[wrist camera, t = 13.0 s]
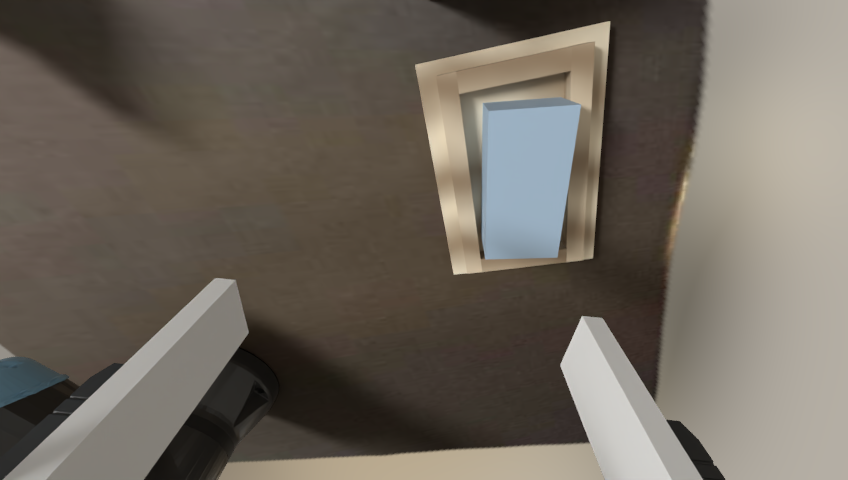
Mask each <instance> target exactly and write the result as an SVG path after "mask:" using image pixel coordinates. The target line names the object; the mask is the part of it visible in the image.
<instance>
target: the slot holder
mask: <svg viewBox="0 0 848 480" xmlns="http://www.w3.org/2000/svg"><path fill="white" fill-rule="evenodd" d="M609 33H610V21H608V22H603V23H599V24H594V25H590V26H585V27H581V28H577V29H572V30H568V31H563V32H559V33H554V34H550V35H546V36H541V37H537V38H532V39H528V40H523V41H519V42H515V43H510V44H506V45H501V46H497V47H492V48H488V49H484V50H479V51H475V52H470V53H466V54H461V55H457V56H453V57H448V58H444V59H439V60H435V61H431V62H426V63H422V64H417V65H415V67H416V72H417V78H418V83H419V89H420V94H421V99H422V105H423V110H424V116H425V121H426V127H427V132H428V137H429V143H430V148H431V154H432V159H433V164H434V170H435V175H436V181H437V186H438V192H439V197H440V202H441V208H442V213H443V219H444V224H445V230H446V235H447V240H448V246H449V251H450V257H451V262H452V267H453V273H454V275H455V274H464V273H467V274H469V273H478V272H486V271H495V270H504V269H512V268H521V267H529V266H538V265H547V264H555V263H564V262H572V261H581V260H583V259H592V258H593V251H594V237H595V224H596V210H597V196H598V183H599V169H600V156H601V142H602V128H603V115H604V101H605V88H606V74H607V60H608V47H609ZM555 97H562V98H565V99H567V100H570V101H573V102H576V103H579V104H581V109H580V116H579V122H578V129H577V135H576V141H575V148H574V154H573V161H572V167H571V174H570V180H569V186H568V193H567V199H566V206H565V212H564V219H563V225H562V231H561V238H560V244H559V251H558V257H557V258H525V259H485V255H484V249H483V243H482V238H481V193H482V117H483V103H487V102H501V101H514V100H528V99H541V98H555Z"/></svg>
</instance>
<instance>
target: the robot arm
mask: <svg viewBox="0 0 848 480" xmlns="http://www.w3.org/2000/svg"><path fill="white" fill-rule="evenodd" d="M248 333H249V331H248V327H247V323H246V320H245V316H244V312H243V308H242V304H241V300H240V296H239V292H238V288H237V284H236V280H230V279H221V278H215V279H214V280H213V281H212V282H211V283H209V284H208V285H207V286H206V287H205V288H204V289H203V290H202V291H201V292H200V293H199V294H198V295H197V296H196V297H195V298H194V299H193V300H192V301H191V302H189V303H188V304H187V305H186V306H185V307H184V308H183V309H182V310H181V311H180V312H179V313H178V314H177V315H176V316H175V317H174V318H173V319H172V320H170V321H169V322H168V323H167V324H166V325H165V326H164V327H163V328H162V329H161V330H160V331H159V332H158V333H157V334H156V335H155V336H154V337H153V338H151V339H150V340H149V341H148V342H147V343H146V344H145V345H144V346H143V347H142V348H141V349H140V350H139V351H138V352H137V353H136V354H135V355H134V356H133V357H131V358H130V359H129V360H128V361H127V362H126V363H125V364H118V363H113V364H112V365H110V366H109V367H107V368H105V369H104V370H102V371H100V372H99V373H97V374H95V375H94V376H92V377H90V378H89V379H88V380H87V381H86V382H85V383H84V384H82V385H81V386H78V385H76V384H75V383H73V382H72V381H70V380H69V379H67V378H69V376H68V375H66V374H64V375H60V374H59V373H57V372H55V371H53V370H51V369H49V368H47V367H46V366H44V365H42V364H40V363H38V362H37V361H35V360H33V359H30V358H26V357H11V358H6V359H2V360H0V480H218V479H219V477H220V475H221V473H222V471H223V470H224V468H225V466H226V464H227V462H228V460H229V458H230V457H231V455H232V453H233V451H234V449H235V448H236V446H237V445H238V444H239V442H240V441H241V440H242V439H243V438H244V437H245V436H246V435H247V434H248V433H249V432H250V431H251V430H252V429H253V428H254V427H255V425H256V424H257V423H258V422H259V421H260V420H261V419H262V418H263V417H264V416H265V415H266V414H267V413H268V411H269V410H270V409H271V407H272V405H273V403H274V401H275V399H276V397H277V395H278V392H279V385H278V381H277V379H276V377H275V375H274V373H273V372H272V371H271V370H270V368H269V367H268V366H267V365H266V364H264V363H263V362H262V361H261V360H259V359H258V358H256V357H255V356H253V355H252V354H250V353H248V352H246V351H244V350H241V349H239V348H238V347H239V346H240V345H241V343H242V342H243V340H244V339H245V338H246V336H247V335H248ZM560 366H561V369H562V371H563V374H564V376H565V379H566V382H567V384H568V387H569V389H570V392H571V395H572V397H573V400H574V402H575V405H576V407H577V410H578V413H579V415H580V418H581V420H582V423H583V426H584V428H585V431H586V433H587V436H588V439H589V441H590V444H591V446H592V449H593V451H594V454H595V457H596V459H597V462H598V464H599V467H600V469H601V472H602V475H603V477H604V480H725V478H724V477H723V475H722V474H721V472H720V471H719V469H718V468H717V466H714V464H713V460H712V459H711V457H710V456H709V454H708V453H707V452H706V450H705V449H704V447H703V446H702V444H701V443H700V441H699V440H698V439H697V438H696V437H695V436H694V435H693V434H692V433H691V432H690V431H689V430H688V429H687V428H686V427H685V426H684V425H683V424H682V423H681V422H680V421H672V420H666V419H665V418H664V416H663V415H662V413H661V411H660V410H659V408H658V407H657V405H656V403H655V402H654V400H653V399H652V397H651V395H650V394H649V392H648V391H647V389H646V387H645V386H644V384H643V382H642V381H641V379H640V378H639V376H638V374H637V373H636V371H635V370H634V368H633V366H632V365H631V363H630V362H629V360H628V358H627V357H626V355H625V354H624V352H623V350H622V349H621V347H620V346H619V344H618V342H617V341H616V339H615V338H614V336H613V334H612V333H611V331H610V329H609V328H608V326H607V325H606V323H605V321H604V320H603V318H596V317H586V316H582V318H581V320H580V322H579V324H578V327H577V329H576V331H575V333H574V336H573V338H572V340H571V342H570V344H569V347H568V349H567V351H566V353H565V356H564V358H563V360H562V362H561V365H560Z"/></svg>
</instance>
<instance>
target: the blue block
mask: <svg viewBox="0 0 848 480" xmlns="http://www.w3.org/2000/svg"><path fill="white" fill-rule="evenodd" d="M580 109H581V104H579V103H576V102H573V101H570V100H567V99H565V98H562V97H555V98H541V99H528V100H514V101H501V102H487V103H483V117H482V193H481V238H482V243H483V249H484V255H485V259H525V258H557V257H558V251H559V244H560V238H561V231H562V225H563V219H564V212H565V206H566V199H567V193H568V186H569V180H570V174H571V167H572V161H573V154H574V148H575V141H576V135H577V129H578V122H579V116H580Z"/></svg>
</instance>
